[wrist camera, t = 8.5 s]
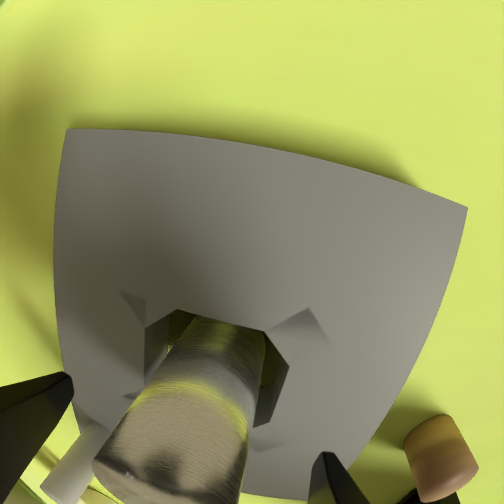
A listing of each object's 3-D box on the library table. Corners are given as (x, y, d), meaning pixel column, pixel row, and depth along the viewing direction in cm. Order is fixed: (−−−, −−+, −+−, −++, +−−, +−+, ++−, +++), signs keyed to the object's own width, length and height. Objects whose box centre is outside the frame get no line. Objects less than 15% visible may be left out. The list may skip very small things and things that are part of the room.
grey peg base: (318, 468, 15) (320, 576, 6) (100, 409, 16) (36, 489, 8) (432, 202, 11) (594, 234, 2) (105, 137, 12) (-49, 112, 3)
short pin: (434, 450, 14) (453, 496, 9) (393, 453, 14) (407, 506, 9) (462, 413, 13) (489, 459, 8) (421, 415, 13) (446, 470, 9)
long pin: (256, 383, 14) (224, 537, 5) (183, 364, 14) (104, 496, 6) (274, 318, 13) (249, 492, 4) (191, 298, 13) (78, 430, 5)
